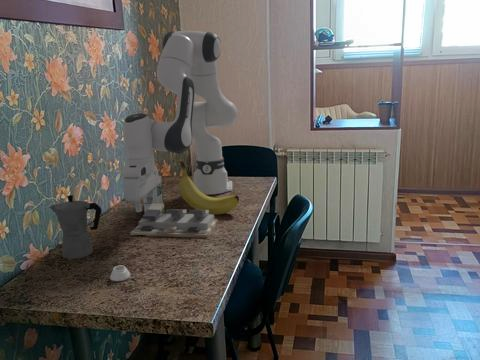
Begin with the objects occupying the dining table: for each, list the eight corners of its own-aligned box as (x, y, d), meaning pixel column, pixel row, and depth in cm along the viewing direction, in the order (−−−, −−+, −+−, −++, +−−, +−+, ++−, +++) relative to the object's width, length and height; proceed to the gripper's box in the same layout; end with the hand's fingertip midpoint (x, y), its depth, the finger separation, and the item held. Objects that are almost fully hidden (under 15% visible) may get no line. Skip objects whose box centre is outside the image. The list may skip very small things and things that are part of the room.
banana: (241, 211, 162) (239, 159, 157) (238, 217, 156) (235, 162, 152) (184, 210, 167) (180, 159, 162) (178, 214, 161) (174, 162, 157)
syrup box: (159, 216, 160) (155, 178, 157) (144, 216, 161) (140, 178, 158) (164, 211, 166) (161, 174, 162) (150, 211, 167) (146, 174, 163)
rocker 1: (153, 209, 154) (152, 203, 153) (164, 209, 154) (163, 203, 153) (144, 222, 146) (142, 215, 145) (156, 222, 146) (155, 216, 145)
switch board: (147, 220, 157) (147, 214, 156) (217, 221, 152) (217, 216, 152) (130, 235, 142) (129, 229, 142) (207, 237, 138) (207, 231, 137)
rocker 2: (174, 216, 153) (174, 209, 153) (186, 216, 152) (186, 209, 152) (165, 217, 144) (165, 209, 144) (178, 217, 143) (178, 209, 143)
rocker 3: (196, 217, 151) (196, 209, 152) (208, 217, 151) (208, 210, 151) (188, 217, 143) (189, 209, 143) (201, 217, 142) (201, 210, 142)
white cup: (131, 273, 116) (112, 274, 115) (130, 262, 115) (111, 264, 115) (128, 281, 111) (108, 283, 111) (127, 271, 110) (107, 272, 110)
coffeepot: (48, 259, 126) (39, 200, 122) (64, 246, 135) (56, 191, 131) (100, 259, 125) (92, 199, 120) (112, 246, 134) (105, 190, 129)
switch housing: (149, 218, 155) (148, 213, 155) (214, 219, 151) (213, 214, 151) (139, 227, 147) (138, 221, 146) (207, 229, 143) (207, 223, 142)
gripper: (144, 158, 149) (148, 196, 153) (117, 173, 130) (122, 217, 133) (161, 158, 148) (165, 197, 152) (137, 173, 129) (142, 217, 132)
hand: (145, 206), depth 142 cm, fingers open, 8 cm apart
